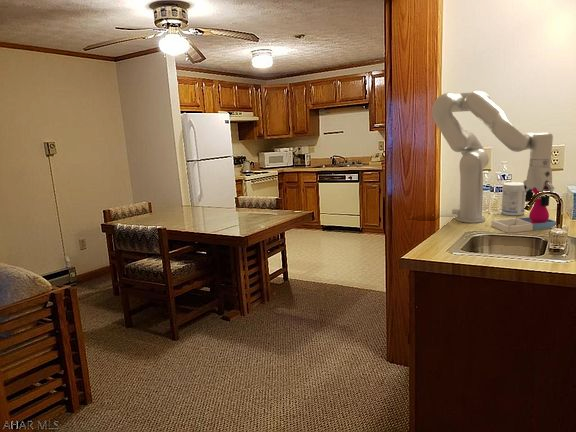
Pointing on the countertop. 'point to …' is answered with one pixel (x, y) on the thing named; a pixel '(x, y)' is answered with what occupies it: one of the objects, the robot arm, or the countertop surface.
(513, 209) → the supplement tub
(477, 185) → the robot arm
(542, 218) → the pepper mill
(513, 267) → the countertop surface
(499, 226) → the frame
